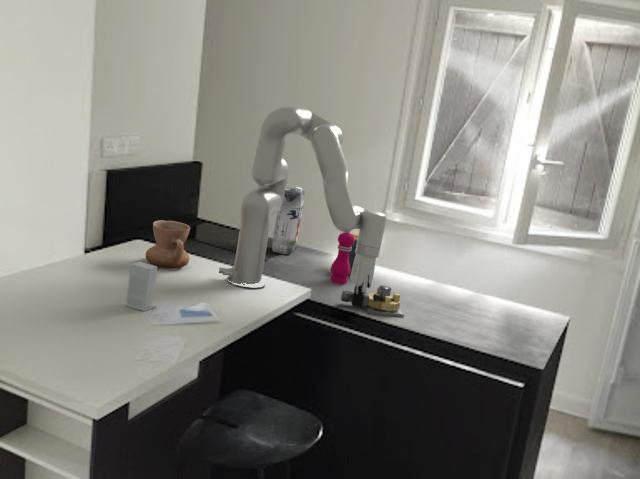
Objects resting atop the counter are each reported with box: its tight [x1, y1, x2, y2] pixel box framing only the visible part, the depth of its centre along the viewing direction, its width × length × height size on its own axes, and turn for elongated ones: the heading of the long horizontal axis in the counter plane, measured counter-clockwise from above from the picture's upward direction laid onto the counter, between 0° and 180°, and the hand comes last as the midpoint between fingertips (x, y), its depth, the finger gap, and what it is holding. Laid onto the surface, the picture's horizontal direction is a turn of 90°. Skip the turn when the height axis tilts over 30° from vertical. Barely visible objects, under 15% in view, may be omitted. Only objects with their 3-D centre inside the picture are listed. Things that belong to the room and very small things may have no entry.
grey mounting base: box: [362, 284, 405, 318], centre depth 227 cm, size 12×12×8 cm
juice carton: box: [271, 186, 306, 256], centre depth 279 cm, size 9×10×27 cm
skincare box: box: [125, 261, 158, 312], centre depth 187 cm, size 6×4×12 cm
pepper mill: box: [329, 231, 355, 285], centre depth 249 cm, size 7×7×20 cm
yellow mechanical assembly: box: [340, 287, 401, 311], centre depth 226 cm, size 19×11×4 cm, turn 100°
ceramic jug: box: [145, 219, 191, 270], centre depth 231 cm, size 18×14×14 cm
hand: (356, 305), depth 220 cm, fingers closed
